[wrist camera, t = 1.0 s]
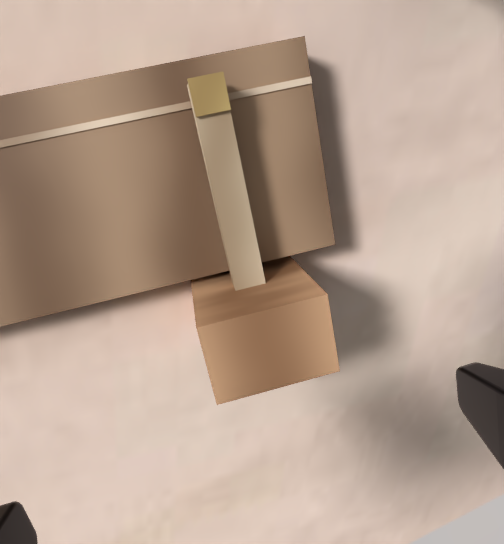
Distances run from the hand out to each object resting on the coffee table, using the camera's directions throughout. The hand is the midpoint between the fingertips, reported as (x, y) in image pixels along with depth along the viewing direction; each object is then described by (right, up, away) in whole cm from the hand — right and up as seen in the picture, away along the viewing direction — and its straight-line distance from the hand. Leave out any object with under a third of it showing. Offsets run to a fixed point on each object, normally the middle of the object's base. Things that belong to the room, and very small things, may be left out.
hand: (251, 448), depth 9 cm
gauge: (-1, +6, +11) cm, 12 cm away
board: (-8, +6, +9) cm, 14 cm away
